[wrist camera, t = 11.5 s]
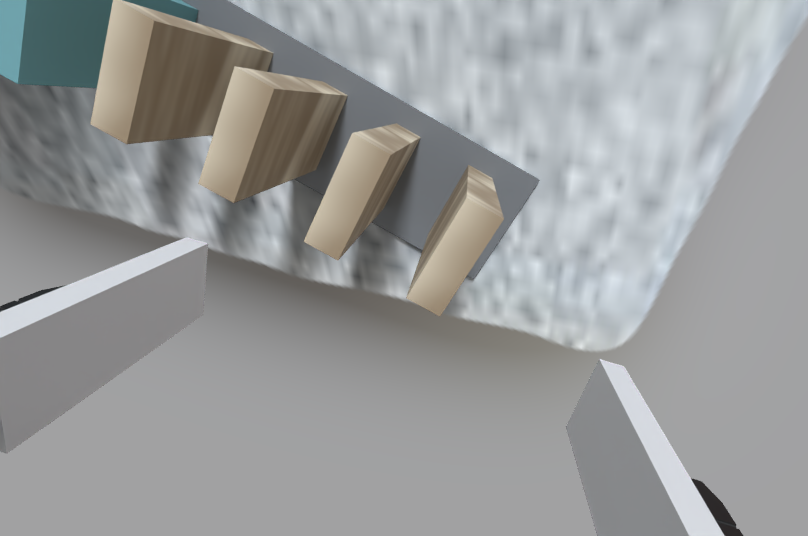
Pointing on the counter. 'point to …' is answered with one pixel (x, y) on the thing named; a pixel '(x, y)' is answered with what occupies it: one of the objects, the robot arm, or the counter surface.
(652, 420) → the robot arm
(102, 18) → the tile
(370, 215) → the light wood flat block
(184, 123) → the light wood flat block
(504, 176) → the runner mat
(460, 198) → the tile
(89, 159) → the counter surface
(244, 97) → the beige wooden block
